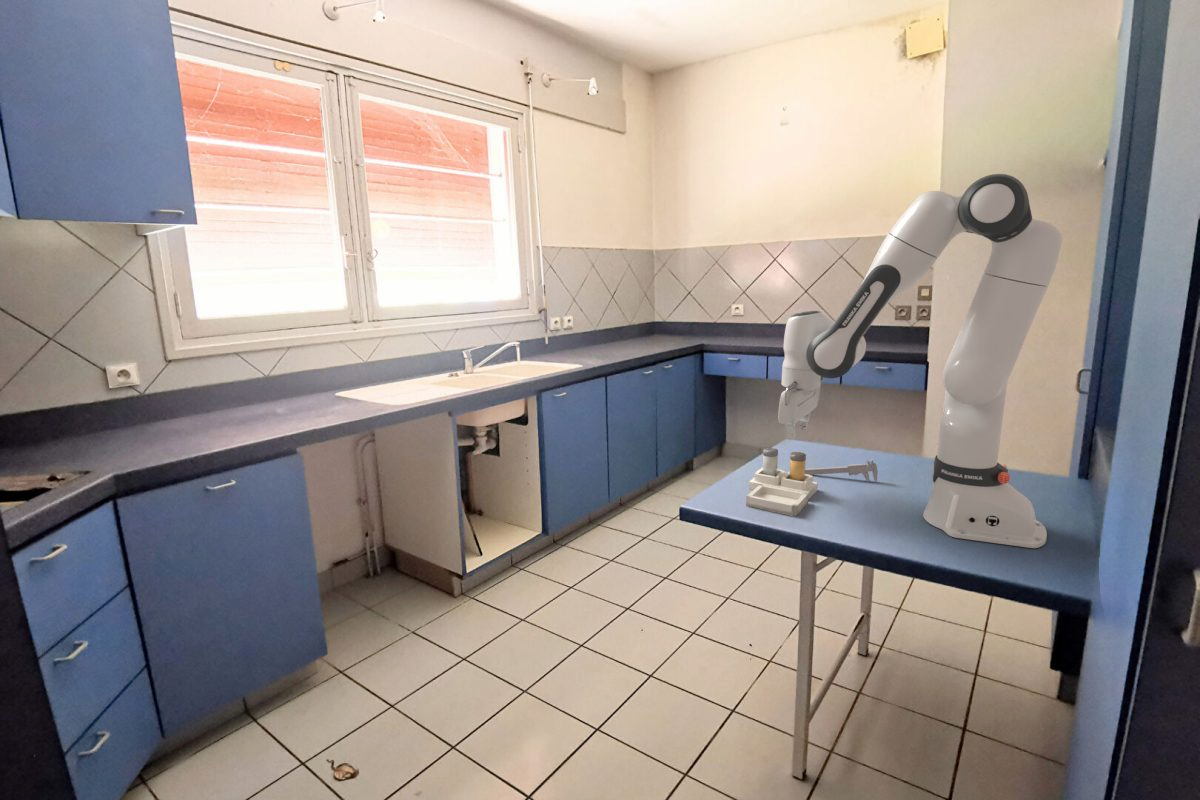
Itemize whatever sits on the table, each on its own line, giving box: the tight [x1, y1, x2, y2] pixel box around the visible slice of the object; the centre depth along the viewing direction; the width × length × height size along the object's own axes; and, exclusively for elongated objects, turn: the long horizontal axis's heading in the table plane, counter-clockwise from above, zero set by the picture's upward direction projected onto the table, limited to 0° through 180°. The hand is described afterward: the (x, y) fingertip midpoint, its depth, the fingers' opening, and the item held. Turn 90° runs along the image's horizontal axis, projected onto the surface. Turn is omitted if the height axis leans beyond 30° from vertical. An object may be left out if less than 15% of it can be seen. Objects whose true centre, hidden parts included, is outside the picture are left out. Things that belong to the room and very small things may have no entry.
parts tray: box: [745, 484, 809, 517], centre depth 144 cm, size 12×9×2 cm
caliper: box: [805, 459, 879, 483], centre depth 159 cm, size 20×1×6 cm, turn 65°
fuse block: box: [748, 447, 819, 501], centre depth 152 cm, size 15×8×10 cm, turn 55°
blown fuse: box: [789, 451, 807, 482], centre depth 150 cm, size 4×4×8 cm
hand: (797, 433), depth 148 cm, fingers open, 8 cm apart
